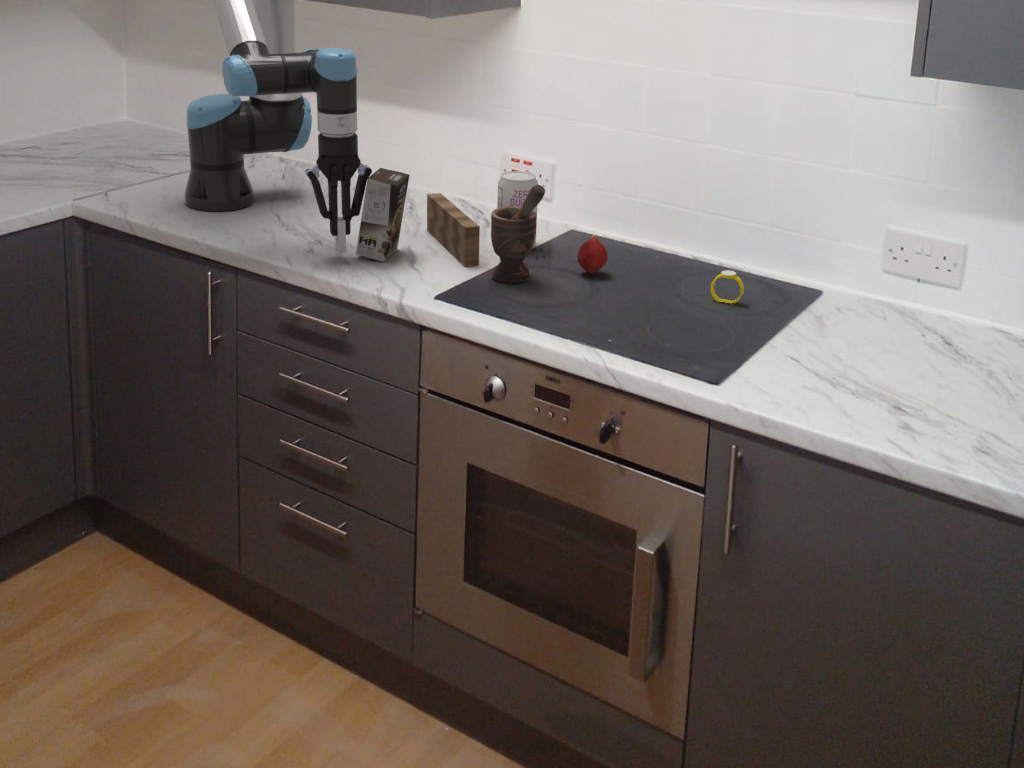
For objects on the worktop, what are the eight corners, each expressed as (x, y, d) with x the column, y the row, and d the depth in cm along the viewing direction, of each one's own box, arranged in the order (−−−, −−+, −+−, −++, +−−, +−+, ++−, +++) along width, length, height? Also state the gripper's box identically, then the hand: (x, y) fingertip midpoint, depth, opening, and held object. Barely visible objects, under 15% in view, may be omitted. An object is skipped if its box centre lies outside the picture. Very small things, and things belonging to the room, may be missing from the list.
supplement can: (515, 237, 259) (518, 168, 253) (543, 247, 254) (546, 176, 248) (487, 245, 254) (489, 174, 248) (515, 255, 249) (518, 183, 243)
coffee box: (385, 263, 242) (398, 185, 235) (354, 254, 243) (366, 177, 236) (398, 248, 250) (411, 173, 243) (368, 241, 251) (380, 165, 244)
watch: (709, 303, 229) (710, 273, 226) (712, 298, 231) (713, 268, 229) (740, 306, 227) (742, 276, 224) (743, 301, 229) (745, 271, 227)
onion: (584, 280, 237) (587, 241, 233) (571, 271, 241) (573, 232, 238) (611, 277, 239) (614, 238, 236) (597, 268, 244) (600, 229, 240)
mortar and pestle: (555, 279, 237) (560, 178, 228) (534, 292, 230) (539, 189, 222) (502, 268, 242) (506, 169, 233) (481, 280, 235) (483, 178, 226)
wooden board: (427, 230, 262) (427, 194, 258) (440, 229, 263) (440, 193, 259) (464, 266, 242) (465, 227, 238) (478, 265, 243) (479, 226, 239)
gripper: (308, 139, 228) (312, 259, 238) (376, 135, 233) (377, 253, 242) (299, 130, 234) (304, 247, 244) (365, 126, 239) (367, 242, 249)
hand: (340, 250), depth 243 cm, fingers closed
